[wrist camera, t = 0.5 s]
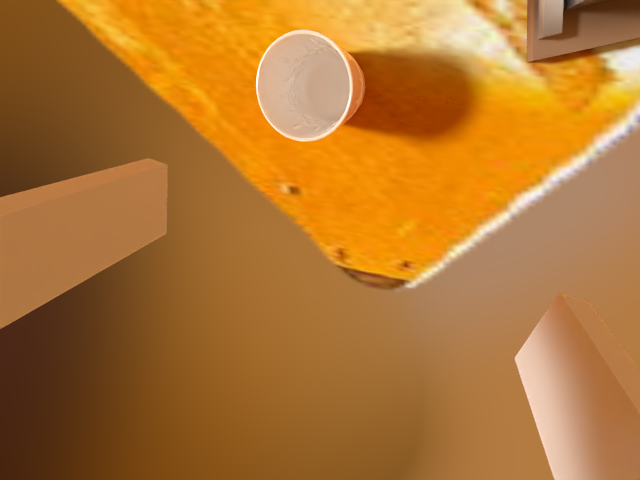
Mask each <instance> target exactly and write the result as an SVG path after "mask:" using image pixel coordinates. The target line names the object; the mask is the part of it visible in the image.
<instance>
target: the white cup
mask: <svg viewBox="0 0 640 480" xmlns="http://www.w3.org/2000/svg"><path fill="white" fill-rule="evenodd" d="M256 90H257V97H258V101H259V105H260V107H261V110H262V112H263V114H264V116H265V118H266V119H267V121H268V122H269V123H270V124H271V125H272V127H273V128H274V129H276V130H277V131H278V132H279V133H281V134H282V135H284V136H286V137H288V138H290V139H293V140H297V141H305V142H306V141H315V140H319V139H321V138H324V137H326V136H328V135H329V134H331V133H332V132H333V131H335V130H336V129H338V128H339V127H340V126H342V125H343V124H344V123H345V122H347V121H348V120H349V119H350V118H351V117H352V116H353V115H354V113H355V112H356V111H357V109H358V108H359V107H360V106H361V104H362V101H363V97H364V93H365V90H366V88H365V80H364V73H363V71H362V70H361V68H360V67H359V65H358V63H357V62H356V60H355V59H354V58H353V57H352V56H351V55H350V54H349V53H348V52H347V51H346V50H345V49H343V48H342V47H341V46H339V45H338V44H337V43H335V42H334V41H333V40H331V39H330V38H329V37H327V36H325V35H323V34H321V33H319V32H316V31H311V30H296V31H292V32H289V33H287V34H284V35H283V36H281V37H279V38H278V39H277V40H275V41H274V42H273V43H272V44H271V45H270V46H269V48H268V49H267V50H266V52H265V54H264V55H263V57H262V59H261V62H260V64H259V68H258V72H257V79H256Z"/></svg>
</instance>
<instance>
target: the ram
mask: <svg viewBox="0 0 640 480" xmlns="http://www.w3.org/2000/svg"><path fill="white" fill-rule="evenodd" d="M603 1H607V0H564V6H563V11H567V10H571V9H575V8H579V7H583V6H587V5H591V4H595V3H599V2H603Z"/></svg>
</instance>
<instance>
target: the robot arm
mask: <svg viewBox="0 0 640 480" xmlns="http://www.w3.org/2000/svg"><path fill="white" fill-rule="evenodd" d="M166 223H167V164H164V163H161V162H158V161H155V160H152V159H149V158H148V159H144V160H140V161H136V162H132V163H129V164H125V165H121V166H117V167H114V168H110V169H107V170H103V171H99V172H95V173H91V174H87V175H83V176H80V177H76V178H72V179H69V180H65V181H61V182H57V183H53V184H50V185H46V186H42V187H38V188H34V189H31V190H27V191H24V192H19V193H16V194H12V195H8V196H4V197H1V198H0V329H1V328H3V327H4V326H6V325H8V324H10V323H11V322H13V321H15V320H17V319H18V318H20V317H22V316H24V315H25V314H27V313H29V312H31V311H32V310H34V309H36V308H37V307H39V306H41V305H43V304H44V303H46V302H48V301H50V300H51V299H53V298H55V297H57V296H58V295H60V294H62V293H64V292H65V291H67V290H69V289H71V288H72V287H74V286H76V285H78V284H79V283H81V282H83V281H85V280H86V279H88V278H90V277H92V276H93V275H95V274H96V273H98V272H100V271H102V270H104V269H105V268H107V267H109V266H111V265H112V264H114V263H116V262H118V261H119V260H121V259H123V258H125V257H126V256H128V255H130V254H131V253H133V252H135V251H137V250H138V249H140V248H142V247H144V246H145V245H147V244H149V243H151V242H152V241H154V240H156V239H158V238H159V237H161V236H163V235H165V234H166V227H167V226H166ZM515 361H516V364H517V367H518V370H519V373H520V376H521V379H522V382H523V385H524V388H525V391H526V394H527V397H528V400H529V404H530V407H531V409H532V413H533V416H534V419H535V422H536V425H537V428H538V431H539V434H540V437H541V440H542V443H543V446H544V449H545V452H546V455H547V458H548V461H549V464H550V467H551V470H552V474H553V476H554V479H555V480H640V370H639V369H638V367H637V366H636V365H635V363H634V362H633V361H632V359H631V358H630V357H629V355H628V354H627V353H626V351H625V350H624V349H623V347H622V346H621V345H620V343H619V342H618V341H617V339H616V338H615V337H614V335H613V334H612V333H611V331H610V330H609V329H608V327H607V326H606V325H605V323H604V322H603V321H602V319H601V318H600V317H599V316H598V314H597V313H596V312H595V310H594V309H593V307H592V306H591V305H590V303H589V302H588V301H587V300H584V299H580V298H578V297H575V296H571V295H568V294H565V293H562V292H559V294H558V295H557V297H556V298H555V300H554V301H553V302H552V304H551V306H550V307H549V308H548V310H547V311H546V313H545V314H544V316H543V317H542V319H541V320H540V322H539V323H538V324H537V326H536V327H535V329H534V330H533V332H532V333H531V335H530V336H529V338H528V339H527V341H526V342H525V344H524V345H523V347H522V348H521V349H520V351H519V352H518V354H517V356H516V357H515Z"/></svg>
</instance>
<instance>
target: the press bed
mask: <svg viewBox="0 0 640 480" xmlns="http://www.w3.org/2000/svg"><path fill="white" fill-rule="evenodd" d="M563 6H564V0H528V8H527V62H530V61H535V60H539V59H544V58H549V57H553V56H558V55H562V54H567V53H572V52H576V51H581V50H586V49H590V48H595V47H599V46H604V45H609V44H613V43H618V42H622V41H627V40H632V39H636V38H640V0H607V1H603V2H599V3H595V4H591V5H587V6H583V7H579V8H575V9H571V10H567V11H563Z"/></svg>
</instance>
